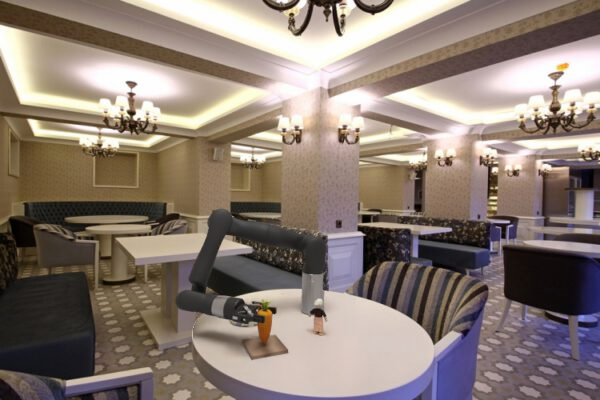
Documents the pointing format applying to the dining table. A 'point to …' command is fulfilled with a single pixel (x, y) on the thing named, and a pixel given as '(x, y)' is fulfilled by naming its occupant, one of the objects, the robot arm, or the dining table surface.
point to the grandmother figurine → (318, 317)
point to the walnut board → (264, 347)
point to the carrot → (265, 327)
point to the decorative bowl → (243, 324)
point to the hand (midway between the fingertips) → (270, 315)
